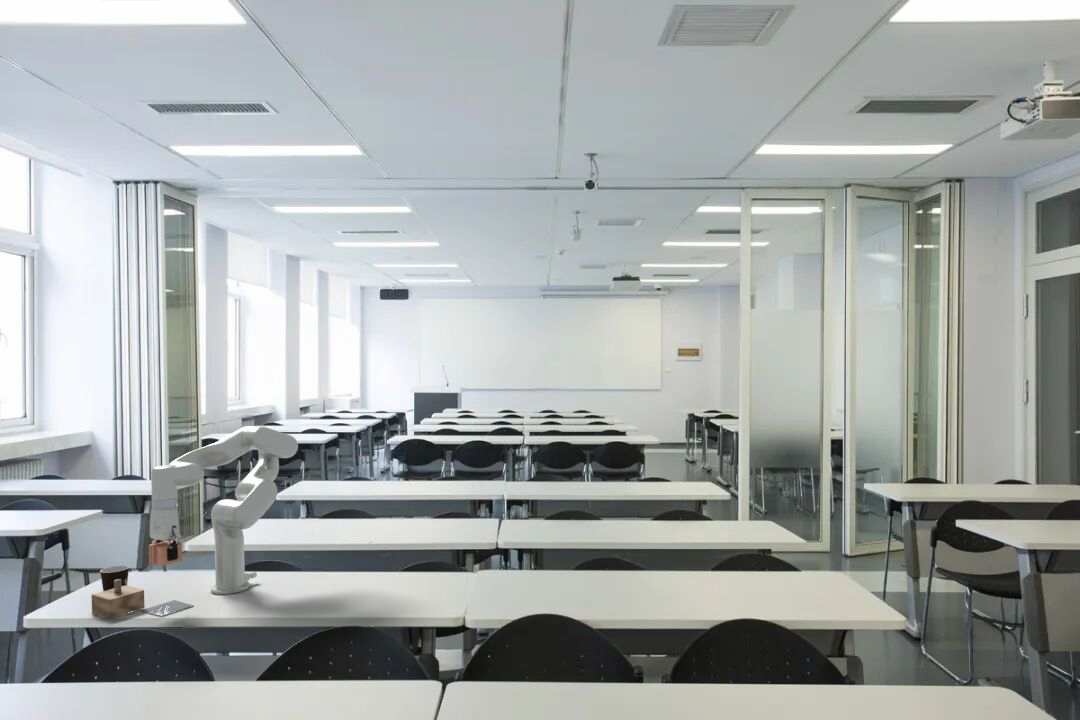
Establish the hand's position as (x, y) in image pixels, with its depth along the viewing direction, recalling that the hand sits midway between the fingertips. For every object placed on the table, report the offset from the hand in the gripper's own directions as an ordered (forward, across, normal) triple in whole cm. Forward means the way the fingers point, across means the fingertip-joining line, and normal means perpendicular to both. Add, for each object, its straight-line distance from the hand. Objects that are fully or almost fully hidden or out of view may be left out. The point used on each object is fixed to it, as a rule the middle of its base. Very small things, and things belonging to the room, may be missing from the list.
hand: (165, 558), depth 240 cm
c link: (+1, 0, 0) cm, 1 cm away
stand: (+17, -13, -9) cm, 23 cm away
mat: (+17, 0, 0) cm, 17 cm away
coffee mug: (+17, -28, -1) cm, 33 cm away
